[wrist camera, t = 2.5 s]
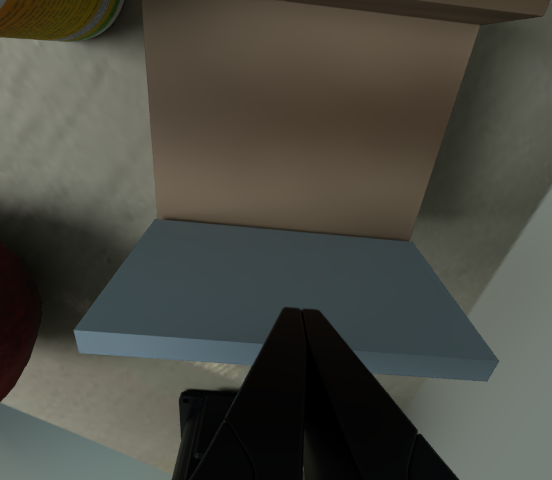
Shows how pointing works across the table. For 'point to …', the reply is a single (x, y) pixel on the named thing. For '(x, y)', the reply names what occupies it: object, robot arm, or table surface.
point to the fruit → (16, 318)
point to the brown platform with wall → (306, 107)
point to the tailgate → (281, 300)
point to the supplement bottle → (57, 18)
